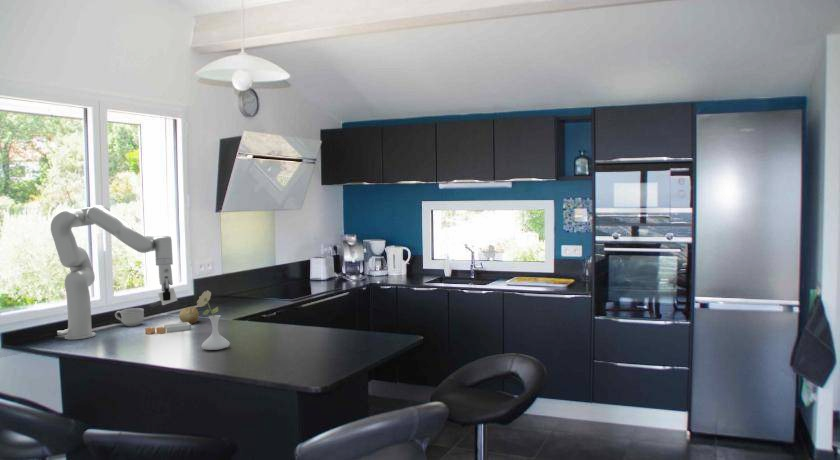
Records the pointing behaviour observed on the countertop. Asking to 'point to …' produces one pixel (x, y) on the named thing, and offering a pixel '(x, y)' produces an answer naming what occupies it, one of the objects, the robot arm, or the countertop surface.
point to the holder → (177, 327)
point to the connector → (172, 299)
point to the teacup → (131, 316)
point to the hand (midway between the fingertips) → (166, 299)
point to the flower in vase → (215, 339)
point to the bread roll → (189, 315)
